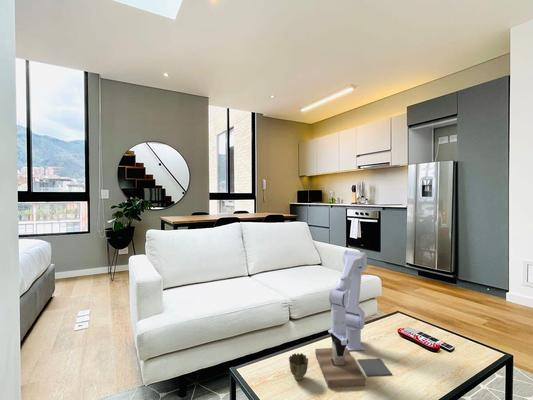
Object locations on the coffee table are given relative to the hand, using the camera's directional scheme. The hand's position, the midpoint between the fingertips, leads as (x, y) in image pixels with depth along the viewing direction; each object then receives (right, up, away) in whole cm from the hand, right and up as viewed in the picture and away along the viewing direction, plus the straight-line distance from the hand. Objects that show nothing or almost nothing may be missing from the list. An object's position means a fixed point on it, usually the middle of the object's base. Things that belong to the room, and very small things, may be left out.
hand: (338, 352), depth 115 cm
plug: (0, -4, 0) cm, 4 cm away
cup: (-17, -8, -5) cm, 19 cm away
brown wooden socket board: (0, -7, +1) cm, 7 cm away
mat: (+15, -7, +1) cm, 17 cm away
